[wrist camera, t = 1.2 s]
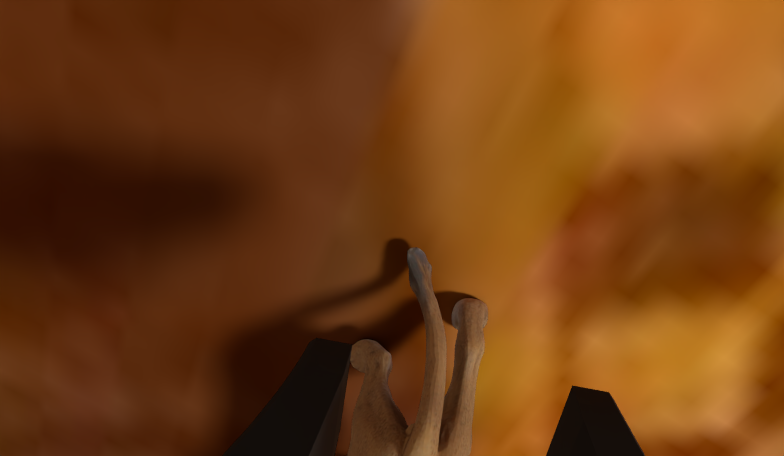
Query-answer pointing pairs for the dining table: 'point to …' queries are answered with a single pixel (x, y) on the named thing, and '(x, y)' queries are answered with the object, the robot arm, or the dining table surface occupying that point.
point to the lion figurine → (436, 413)
